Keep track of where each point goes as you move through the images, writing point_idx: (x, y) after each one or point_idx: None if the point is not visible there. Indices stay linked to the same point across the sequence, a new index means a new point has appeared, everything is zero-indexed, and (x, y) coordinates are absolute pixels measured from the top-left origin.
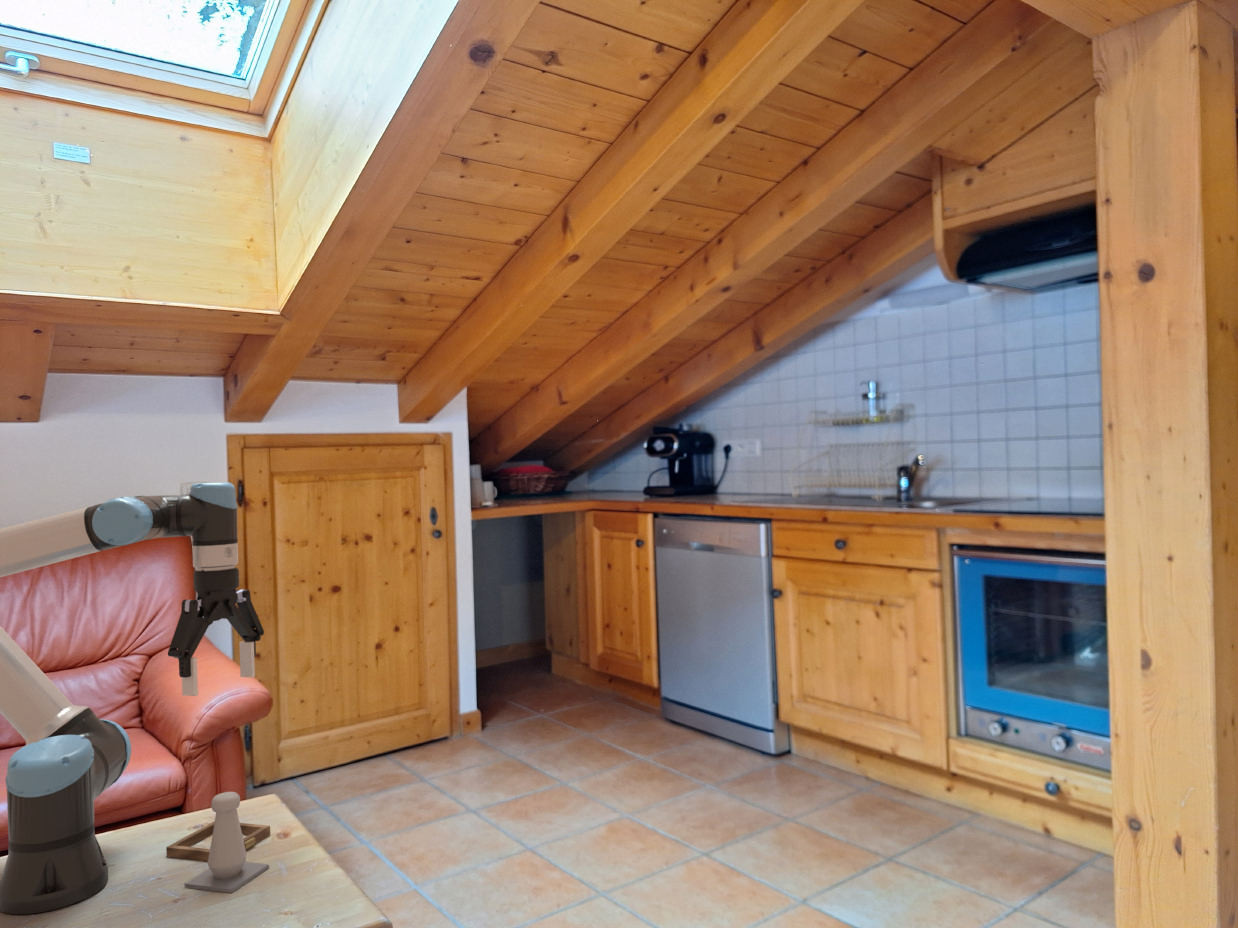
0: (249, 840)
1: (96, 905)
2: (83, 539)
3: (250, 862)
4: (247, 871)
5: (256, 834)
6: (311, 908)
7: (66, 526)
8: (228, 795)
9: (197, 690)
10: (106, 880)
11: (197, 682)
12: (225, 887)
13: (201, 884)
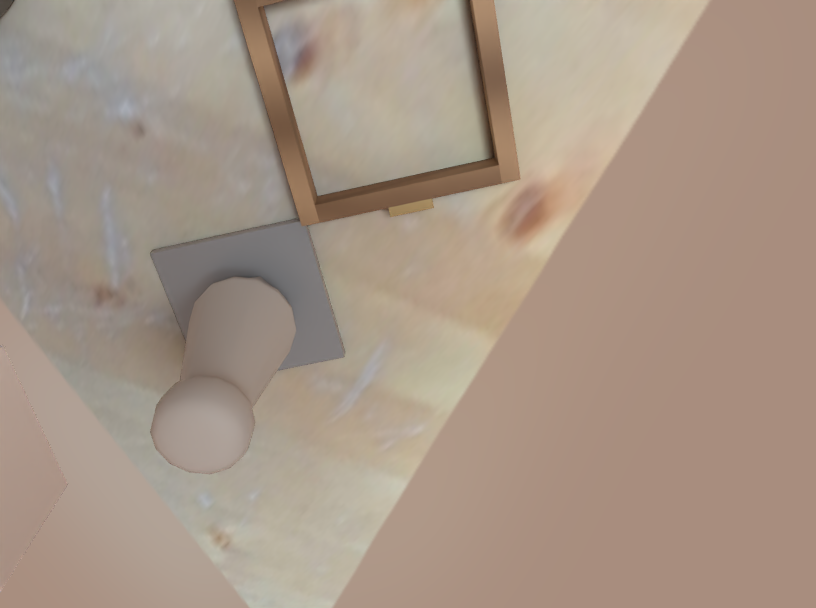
0: (410, 208)
1: None
2: None
3: (328, 305)
4: None
5: (450, 193)
6: (259, 562)
7: None
8: (196, 460)
9: (42, 518)
10: (5, 5)
11: (3, 585)
12: None
13: (174, 299)
